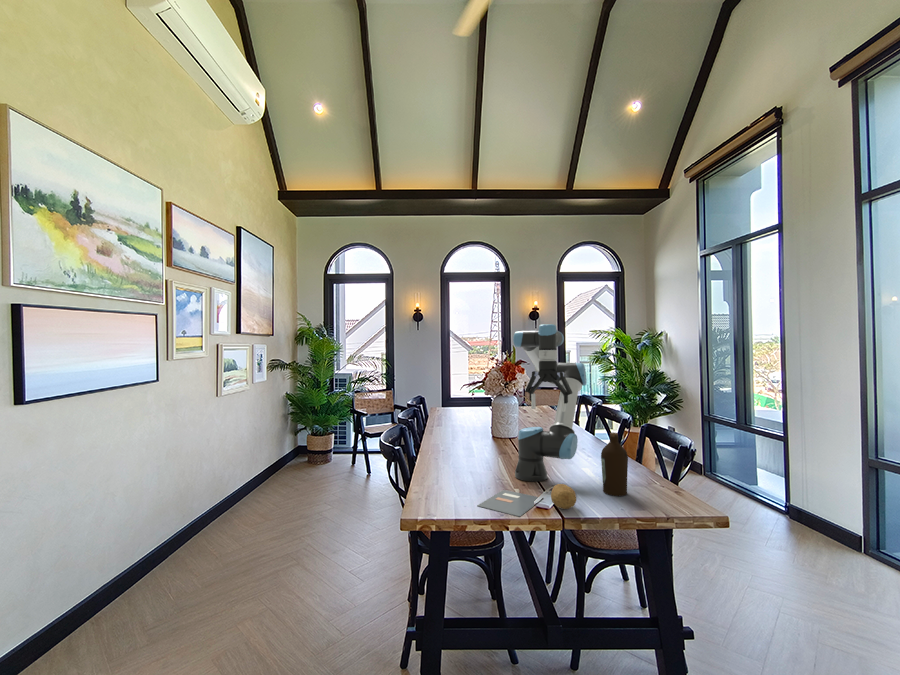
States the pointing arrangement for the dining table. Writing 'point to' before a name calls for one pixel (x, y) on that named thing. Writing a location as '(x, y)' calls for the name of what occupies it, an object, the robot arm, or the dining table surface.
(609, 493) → the olive oil
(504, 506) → the tile
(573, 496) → the potato
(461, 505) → the dining table surface
